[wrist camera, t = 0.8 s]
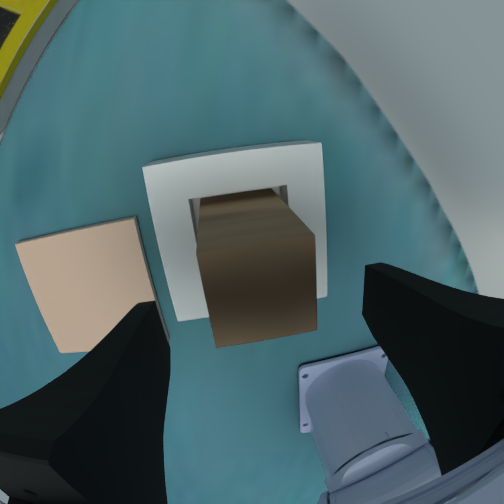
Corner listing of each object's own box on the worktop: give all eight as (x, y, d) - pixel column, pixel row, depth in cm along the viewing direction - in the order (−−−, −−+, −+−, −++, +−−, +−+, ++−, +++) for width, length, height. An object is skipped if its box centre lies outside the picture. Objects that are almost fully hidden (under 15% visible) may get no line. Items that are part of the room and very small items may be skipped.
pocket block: (314, 277, 21) (327, 296, 19) (180, 299, 21) (177, 321, 18) (306, 139, 18) (321, 142, 15) (150, 161, 17) (142, 167, 15)
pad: (169, 338, 22) (168, 343, 21) (62, 348, 21) (60, 352, 20) (136, 215, 18) (134, 218, 18) (19, 241, 17) (15, 244, 17)
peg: (277, 252, 20) (317, 330, 12) (211, 262, 19) (216, 347, 12) (270, 187, 18) (315, 235, 11) (200, 198, 18) (195, 253, 10)
